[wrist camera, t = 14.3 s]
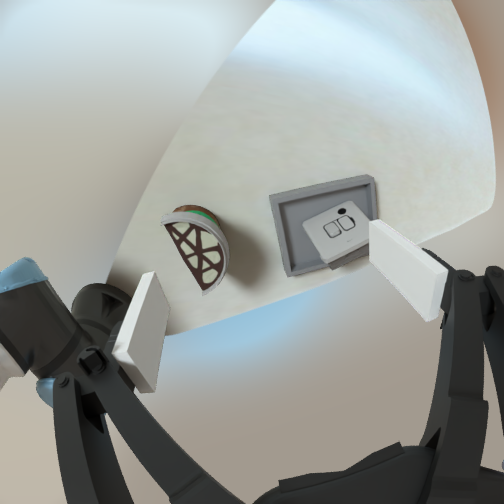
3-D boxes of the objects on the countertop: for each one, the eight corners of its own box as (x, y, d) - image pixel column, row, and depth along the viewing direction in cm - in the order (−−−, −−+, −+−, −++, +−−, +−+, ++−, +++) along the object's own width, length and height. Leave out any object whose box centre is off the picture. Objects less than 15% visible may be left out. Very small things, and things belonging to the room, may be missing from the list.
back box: (284, 270, 48) (287, 277, 46) (268, 195, 42) (271, 199, 40) (371, 246, 48) (378, 252, 46) (366, 174, 42) (374, 177, 40)
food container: (240, 250, 46) (245, 282, 37) (206, 264, 46) (204, 299, 37) (207, 182, 41) (203, 199, 32) (172, 200, 41) (158, 221, 32)
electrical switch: (350, 198, 43) (378, 222, 35) (357, 223, 46) (384, 250, 38) (299, 222, 44) (319, 251, 36) (309, 246, 47) (329, 278, 39)
